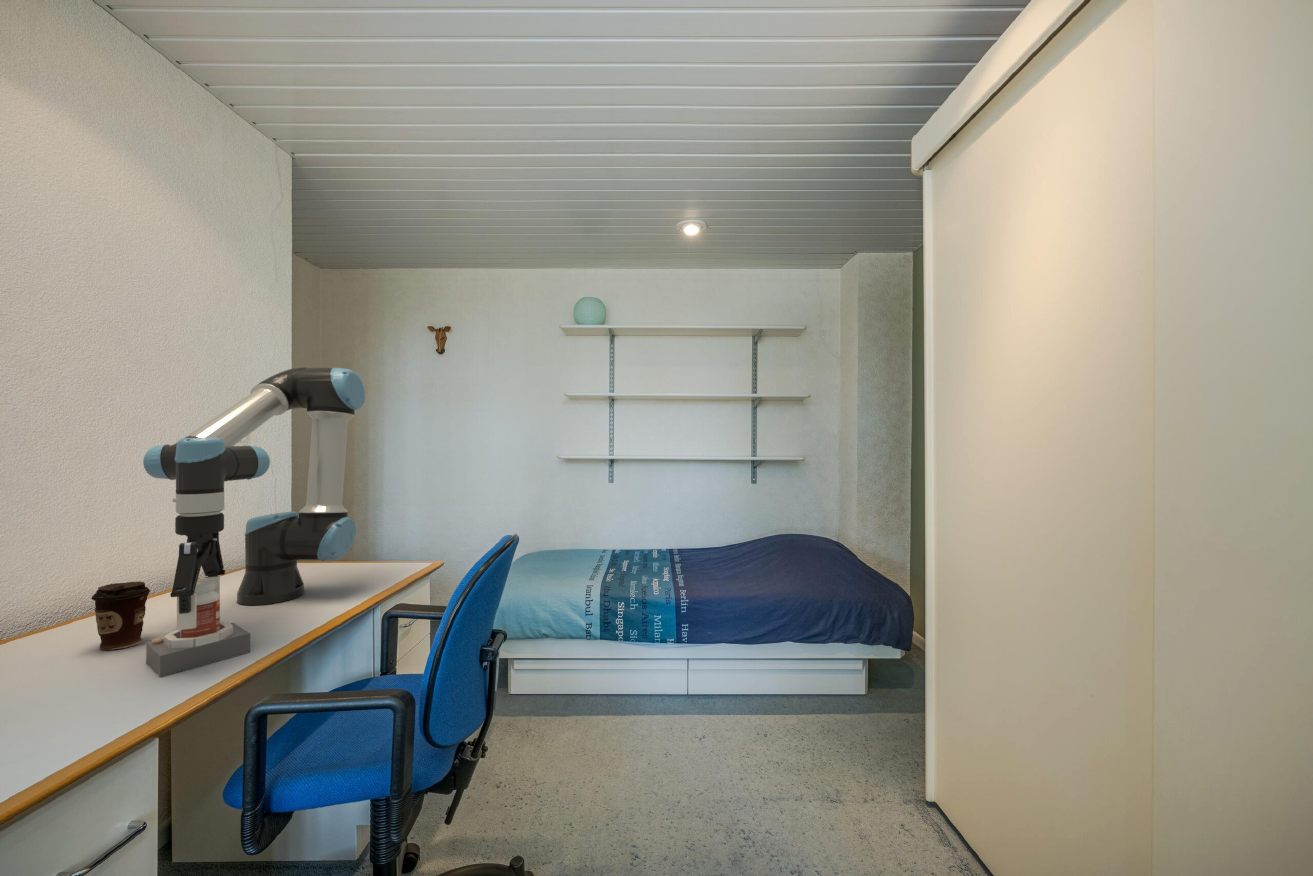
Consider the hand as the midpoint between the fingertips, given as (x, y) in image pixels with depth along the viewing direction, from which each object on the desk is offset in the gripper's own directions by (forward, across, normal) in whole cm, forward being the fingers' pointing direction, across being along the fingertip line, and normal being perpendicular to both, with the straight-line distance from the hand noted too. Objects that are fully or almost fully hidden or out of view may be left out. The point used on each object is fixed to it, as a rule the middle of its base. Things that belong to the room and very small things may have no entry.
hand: (199, 617), depth 107 cm
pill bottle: (+4, 0, 0) cm, 4 cm away
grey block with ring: (+8, 0, 0) cm, 8 cm away
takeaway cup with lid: (+8, -14, -17) cm, 24 cm away
